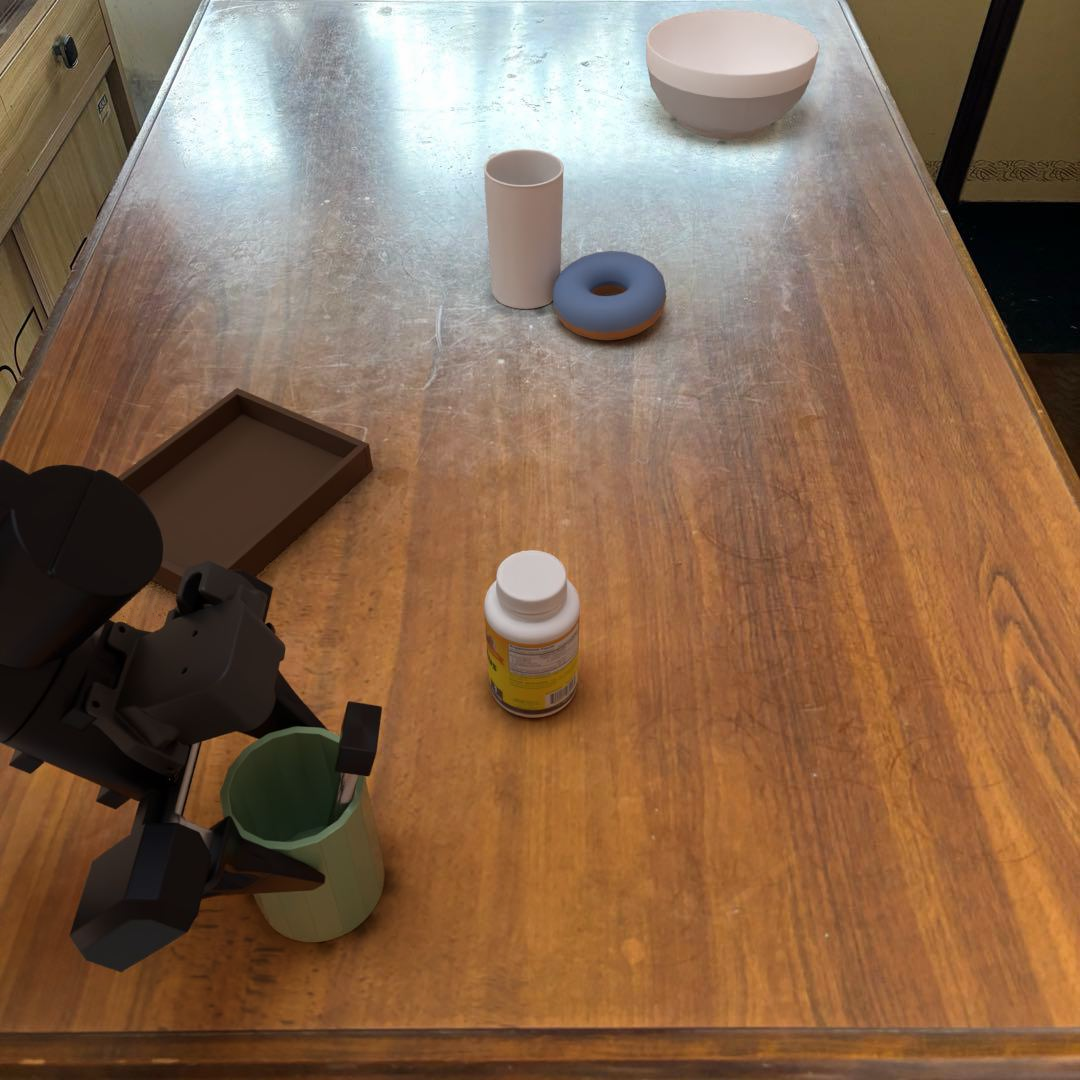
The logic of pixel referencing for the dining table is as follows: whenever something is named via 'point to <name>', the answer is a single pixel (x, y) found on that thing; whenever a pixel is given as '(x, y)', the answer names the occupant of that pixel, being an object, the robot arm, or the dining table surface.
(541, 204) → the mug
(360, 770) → the black component with leads
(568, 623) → the supplement bottle
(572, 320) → the doughnut
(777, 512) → the dining table surface
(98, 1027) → the dining table surface
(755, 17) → the bowl
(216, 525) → the tray
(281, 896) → the cup
